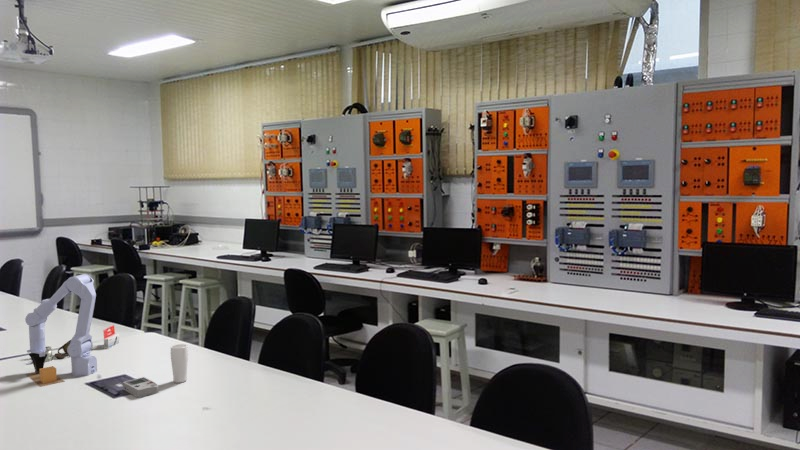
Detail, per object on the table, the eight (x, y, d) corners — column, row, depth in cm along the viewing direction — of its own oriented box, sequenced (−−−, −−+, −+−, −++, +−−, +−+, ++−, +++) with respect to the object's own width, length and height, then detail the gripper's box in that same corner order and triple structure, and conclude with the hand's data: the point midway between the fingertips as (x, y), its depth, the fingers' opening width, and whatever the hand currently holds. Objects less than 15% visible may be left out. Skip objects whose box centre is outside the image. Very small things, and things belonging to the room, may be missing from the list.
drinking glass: (191, 380, 246) (190, 345, 245) (176, 385, 241) (175, 349, 240) (184, 377, 251) (182, 343, 250) (168, 381, 246) (167, 346, 245)
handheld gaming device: (137, 399, 226) (137, 389, 226) (122, 390, 236) (122, 381, 236) (159, 393, 233) (159, 384, 233) (144, 385, 243) (144, 376, 242)
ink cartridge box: (119, 343, 308) (118, 324, 307) (108, 349, 297) (107, 330, 296) (114, 343, 308) (113, 325, 307) (103, 349, 297) (102, 330, 296)
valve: (56, 360, 278) (46, 355, 286) (56, 346, 278) (45, 342, 285) (41, 363, 273) (31, 359, 280) (40, 349, 273) (30, 345, 280)
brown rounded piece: (87, 342, 289) (75, 336, 293) (61, 346, 277) (49, 339, 282) (84, 356, 289) (73, 349, 294) (58, 361, 278) (47, 353, 283)
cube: (56, 380, 245) (56, 368, 244) (43, 383, 241) (42, 371, 241) (53, 377, 248) (52, 366, 248) (39, 380, 245) (39, 368, 244)
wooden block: (65, 383, 243) (64, 367, 243) (40, 389, 237) (39, 372, 237) (48, 371, 260) (48, 355, 260) (25, 375, 254) (24, 360, 254)
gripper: (22, 337, 256) (23, 368, 257) (31, 343, 246) (32, 375, 247) (40, 334, 261) (42, 364, 262) (49, 340, 251) (51, 371, 252)
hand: (38, 369), depth 255 cm, fingers open, 3 cm apart
